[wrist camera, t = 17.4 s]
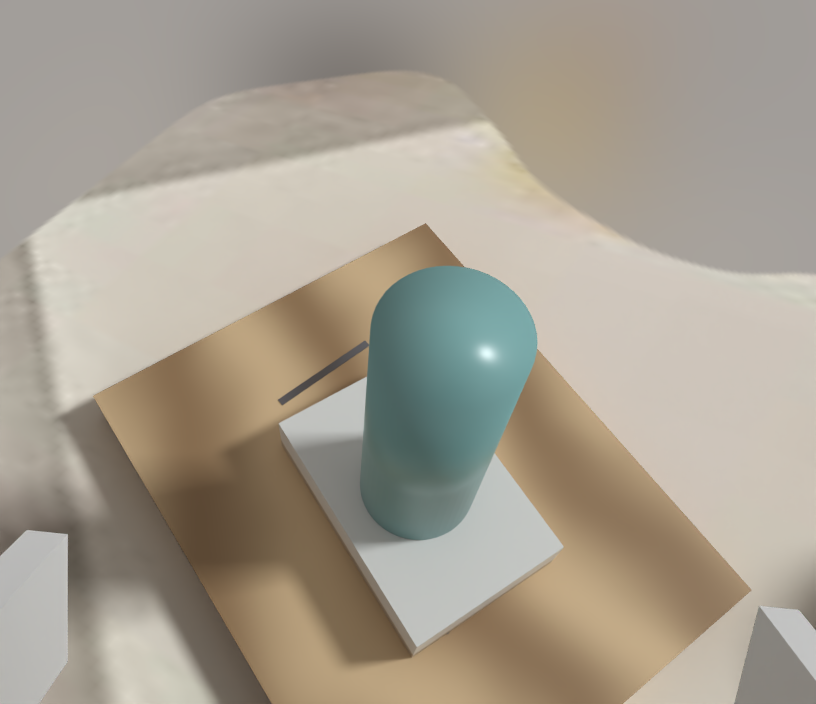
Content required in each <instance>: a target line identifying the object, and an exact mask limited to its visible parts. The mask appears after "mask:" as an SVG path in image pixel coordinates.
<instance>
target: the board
mask: <svg viewBox="0 0 816 704" xmlns="http://www.w3.org/2000/svg"><path fill="white" fill-rule="evenodd" d="M436 266H459V267H464V266H463V265H462V264H461V263H460V261H459V260H458V259H457V258H456V257H455V256H454V255H453V254H452V252H451V251H450V250H449V249H448V248H447V247H446V246H445V244H444V243H443V242H442V241H441V240H440V239H439V238H438V237H437V235H436V234H435V233H434V232H433V231H432V230H431V229H430V228H429V226H428V225H427V224H426V223H425V224H424V225H422V226H420V227H418V228H416V229H414V230H412V231H410V232H408V233H406V234H404V235H402V236H400V237H399V238H397V239H395V240H393V241H391V242H389V243H387V244H385V245H383V246H381V247H379V248H377V249H375V250H373V251H372V252H370V253H368V254H366V255H364V256H362V257H360V258H358V259H356V260H354V261H352V262H350V263H348V264H346V265H345V266H343V267H341V268H339V269H337V270H335V271H333V272H331V273H329V274H327V275H325V276H323V277H321V278H319V279H318V280H316V281H314V282H312V283H310V284H308V285H306V286H304V287H302V288H300V289H298V290H296V291H294V292H292V293H291V294H289V295H287V296H285V297H283V298H281V299H279V300H277V301H275V302H273V303H271V304H269V305H267V306H265V307H264V308H262V309H260V310H258V311H256V312H254V313H252V314H250V315H248V316H246V317H244V318H242V319H240V320H238V321H237V322H235V323H233V324H231V325H229V326H227V327H225V328H223V329H221V330H219V331H217V332H215V333H213V334H211V335H210V336H208V337H206V338H204V339H202V340H200V341H198V342H196V343H194V344H192V345H190V346H188V347H186V348H184V349H183V350H181V351H179V352H177V353H175V354H173V355H171V356H169V357H167V358H165V359H163V360H161V361H159V362H157V363H156V364H154V365H152V366H150V367H148V368H146V369H144V370H142V371H140V372H138V373H136V374H134V375H132V376H130V377H129V378H127V379H125V380H123V381H121V382H119V383H117V384H115V385H113V386H111V387H109V388H107V389H105V390H103V391H102V392H100V393H98V394H96V395H94V396H93V397H94V399H95V400H96V402H97V404H98V406H99V407H100V409H101V411H102V412H103V414H104V416H105V418H106V419H107V421H108V423H109V425H110V426H111V428H112V430H113V431H114V433H115V435H116V437H117V438H118V440H119V442H120V443H121V445H122V447H123V449H124V450H125V452H126V454H127V456H128V457H129V459H130V461H131V462H132V464H133V466H134V468H135V469H136V471H137V473H138V474H139V476H140V478H141V480H142V481H143V483H144V485H145V487H146V488H147V490H148V492H149V493H150V495H151V497H152V499H153V500H154V502H155V504H156V505H157V507H158V509H159V511H160V512H161V514H162V516H163V518H164V519H165V521H166V523H167V524H168V526H169V528H170V530H171V531H172V533H173V535H174V536H175V538H176V540H177V542H178V543H179V545H180V547H181V549H182V550H183V552H184V554H185V555H186V557H187V559H188V561H189V562H190V564H191V566H192V567H193V569H194V571H195V573H196V574H197V576H198V578H199V580H200V581H201V583H202V585H203V586H204V588H205V590H206V592H207V593H208V595H209V597H210V598H211V600H212V602H213V604H214V605H215V607H216V609H217V611H218V612H219V614H220V616H221V617H222V619H223V621H224V623H225V624H226V626H227V628H228V629H229V631H230V633H231V635H232V636H233V638H234V640H235V642H236V643H237V645H238V647H239V648H240V650H241V652H242V654H243V655H244V657H245V659H246V660H247V662H248V664H249V666H250V667H251V669H252V671H253V673H254V674H255V676H256V678H257V679H258V681H259V683H260V685H261V686H262V688H263V690H264V691H265V693H266V695H267V697H268V698H269V700H270V702H271V704H623V703H624V702H625V701H626V700H627V699H629V698H630V697H631V696H632V695H633V694H634V693H635V692H637V691H638V690H639V689H640V688H641V687H642V686H643V685H645V684H646V683H647V682H648V681H649V680H650V679H651V678H652V677H654V676H655V675H656V674H657V673H658V672H659V671H660V670H662V669H663V668H664V667H665V666H666V665H667V664H668V663H669V662H671V661H672V660H673V659H674V658H675V657H676V656H677V655H679V654H680V653H681V652H682V651H683V650H684V649H685V648H687V647H688V646H689V645H690V644H691V643H692V642H693V641H694V640H696V639H697V638H698V637H699V636H700V635H701V634H702V633H704V632H705V631H706V630H707V629H708V628H709V627H710V626H711V625H713V624H714V623H715V622H716V621H717V620H718V619H719V618H721V617H722V616H723V615H724V614H725V613H726V612H727V611H729V610H730V609H731V608H732V607H733V606H734V605H735V604H736V603H738V602H739V601H740V600H741V599H742V598H743V597H744V596H746V595H747V594H748V593H749V592H750V591H751V589H750V588H749V587H748V585H747V584H746V583H745V582H744V581H743V580H742V579H741V578H740V576H739V575H738V574H737V573H736V572H735V571H734V570H733V569H732V567H731V566H730V565H729V564H728V563H727V562H726V561H725V560H724V558H723V557H722V556H721V555H720V554H719V553H718V552H717V551H716V549H715V548H714V547H713V546H712V545H711V544H710V543H709V542H708V540H707V539H706V538H705V537H704V536H703V535H702V534H701V533H700V531H699V530H698V529H697V528H696V527H695V526H694V525H693V524H692V522H691V521H690V520H689V519H688V518H687V517H686V516H685V515H684V513H683V512H682V511H681V510H680V509H679V508H678V507H677V506H676V504H675V503H674V502H673V501H672V500H671V499H670V498H669V497H668V495H667V494H666V493H665V492H664V491H663V490H662V489H661V488H660V486H659V485H658V484H657V483H656V482H655V481H654V480H653V479H652V477H651V476H650V475H649V474H648V473H647V472H646V471H645V470H644V468H643V467H642V466H641V465H640V464H639V463H638V462H637V461H636V459H635V458H634V457H633V456H632V455H631V454H630V453H629V452H628V450H627V449H626V448H625V447H624V446H623V445H622V444H621V443H620V441H619V440H618V439H617V438H616V437H615V436H614V435H613V434H612V432H611V431H610V430H609V429H608V428H607V427H606V426H605V425H604V423H603V422H602V421H601V420H600V419H599V418H598V417H597V416H596V414H595V413H594V412H593V411H592V410H591V409H590V408H589V407H588V405H587V404H586V403H585V402H584V401H583V400H582V399H581V398H580V396H579V395H578V394H577V393H576V392H575V391H574V390H573V389H572V387H571V386H570V385H569V384H568V383H567V382H566V381H565V380H564V378H563V377H562V376H561V375H560V374H559V373H558V372H557V371H556V369H555V368H554V367H553V366H552V365H551V364H550V363H549V362H548V360H547V359H546V358H545V357H544V356H543V355H542V354H541V353H540V351H539V350H538V349H537V353H536V358H535V362H534V364H533V367H532V369H531V372H530V374H529V376H528V378H527V381H526V383H525V385H524V387H523V390H522V392H521V394H520V396H519V399H518V401H517V403H516V405H515V408H514V410H513V412H512V414H511V417H510V419H509V421H508V424H507V426H506V428H505V430H504V433H503V435H502V437H501V439H500V442H499V444H498V446H497V448H496V451H495V454H496V456H497V457H498V458H499V460H500V461H501V463H502V464H503V465H504V467H505V468H506V469H507V471H508V472H509V473H510V475H511V476H512V477H513V479H514V480H515V481H516V483H517V484H518V485H519V487H520V488H521V490H522V491H523V492H524V494H525V495H526V496H527V498H528V499H529V500H530V502H531V503H532V504H533V506H534V507H535V508H536V510H537V511H538V512H539V514H540V515H541V517H542V518H543V519H544V521H545V522H546V523H547V525H548V526H549V527H550V529H551V530H552V531H553V533H554V534H555V535H556V537H557V538H558V539H559V541H560V542H561V544H562V545H563V546H564V548H563V549H562V550H561V551H560V552H559V554H558V555H557V556H556V557H555V558H554V559H553V560H552V562H551V563H549V564H548V565H547V566H545V567H544V568H542V569H541V570H539V571H538V572H536V573H535V574H533V575H532V576H530V577H529V578H528V579H526V580H525V581H523V582H522V583H520V584H519V585H517V586H516V587H514V588H513V589H511V590H510V591H509V592H507V593H506V594H504V595H503V596H501V597H500V598H498V599H497V600H495V601H494V602H492V603H491V604H490V605H488V606H487V607H485V608H484V609H482V610H481V611H479V612H478V613H476V614H475V615H473V616H472V617H471V618H469V619H468V620H466V621H465V622H463V623H462V624H460V625H459V626H457V627H456V628H455V629H453V630H452V631H450V632H449V633H447V634H446V635H444V636H443V637H441V638H440V639H438V640H437V641H436V642H434V643H433V644H431V645H430V646H428V647H427V648H425V649H424V650H422V651H421V652H419V653H418V654H417V655H415V656H414V657H411V656H410V654H409V652H408V651H407V649H406V647H405V646H404V644H403V643H402V641H401V639H400V638H399V636H398V634H397V633H396V631H395V629H394V628H393V626H392V625H391V623H390V621H389V620H388V618H387V616H386V615H385V613H384V611H383V610H382V608H381V607H380V605H379V603H378V602H377V600H376V598H375V597H374V595H373V593H372V592H371V590H370V589H369V587H368V585H367V584H366V582H365V580H364V579H363V577H362V575H361V574H360V572H359V571H358V569H357V567H356V566H355V564H354V562H353V561H352V559H351V558H350V556H349V554H348V553H347V551H346V549H345V548H344V546H343V544H342V543H341V541H340V540H339V538H338V536H337V535H336V533H335V531H334V530H333V528H332V526H331V525H330V523H329V522H328V520H327V518H326V517H325V515H324V513H323V512H322V510H321V508H320V507H319V505H318V504H317V502H316V500H315V499H314V497H313V495H312V494H311V492H310V491H309V489H308V487H307V486H306V484H305V482H304V481H303V479H302V477H301V476H300V474H299V473H298V471H297V469H296V468H295V466H294V464H293V463H292V461H291V459H290V458H289V456H288V455H287V453H286V451H285V450H284V448H283V446H282V442H281V436H280V429H279V423H280V422H282V421H284V420H286V419H288V418H290V417H291V416H293V415H295V414H297V413H299V412H301V411H303V410H305V409H307V408H308V407H310V406H312V405H314V404H316V403H318V402H320V401H322V400H324V399H325V398H327V397H329V396H331V395H333V394H335V393H337V392H339V391H341V390H342V389H344V388H346V387H348V386H350V385H352V384H354V383H356V382H357V381H359V380H361V379H363V378H365V377H367V370H368V355H369V340H370V325H371V320H372V315H373V313H374V310H375V307H376V305H377V304H378V302H379V300H380V298H381V297H382V296H383V294H384V293H385V292H386V291H387V290H388V289H389V288H390V287H391V286H392V285H393V284H394V283H396V282H397V281H398V280H400V279H401V278H403V277H405V276H407V275H408V274H411V273H413V272H415V271H418V270H422V269H425V268H430V267H436Z"/></svg>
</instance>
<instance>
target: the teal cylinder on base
mask: <svg viewBox="0 0 816 704" xmlns="http://www.w3.org/2000/svg"><path fill="white" fill-rule="evenodd" d="M536 353H537V333H536V329H535V324H534V322H533V319H532V317H531V314H530V313H529V311H528V309H527V307H526V306H525V304H524V303H523V302H522V300H521V299H520V298H519V297H518V296H517V295H516V294H515V293H514V291H512V290H511V289H510V288H509V287H508V286H506V285H505V284H504V283H502V282H501V281H499V280H498V279H496V278H494V277H492V276H490V275H488V274H485V273H483V272H480V271H477V270H474V269H470V268H465V267H459V266H436V267H430V268H425V269H422V270H418V271H415V272H413V273H411V274H408V275H407V276H405V277H403V278H401V279H400V280H398V281H397V282H396V283H394V284H393V285H392V286H391V287H390V288H389V289H388V290H387V291H386V292H385V293H384V294H383V296H382V297H381V298H380V300H379V302H378V304H377V305H376V307H375V310H374V313H373V315H372V320H371V325H370V340H369V355H368V370H367V377H365V378H363V379H361V380H359V381H357V382H356V383H354V384H352V385H350V386H348V387H346V388H344V389H342V390H341V391H339V392H337V393H335V394H333V395H331V396H329V397H327V398H325V399H324V400H322V401H320V402H318V403H316V404H314V405H312V406H310V407H308V408H307V409H305V410H303V411H301V412H299V413H297V414H295V415H293V416H291V417H290V418H288V419H286V420H284V421H282V422H280V423H279V429H280V436H281V442H282V446H283V448H284V450H285V451H286V453H287V455H288V456H289V458H290V459H291V461H292V463H293V464H294V466H295V468H296V469H297V471H298V473H299V474H300V476H301V477H302V479H303V481H304V482H305V484H306V486H307V487H308V489H309V491H310V492H311V494H312V495H313V497H314V499H315V500H316V502H317V504H318V505H319V507H320V508H321V510H322V512H323V513H324V515H325V517H326V518H327V520H328V522H329V523H330V525H331V526H332V528H333V530H334V531H335V533H336V535H337V536H338V538H339V540H340V541H341V543H342V544H343V546H344V548H345V549H346V551H347V553H348V554H349V556H350V558H351V559H352V561H353V562H354V564H355V566H356V567H357V569H358V571H359V572H360V574H361V575H362V577H363V579H364V580H365V582H366V584H367V585H368V587H369V589H370V590H371V592H372V593H373V595H374V597H375V598H376V600H377V602H378V603H379V605H380V607H381V608H382V610H383V611H384V613H385V615H386V616H387V618H388V620H389V621H390V623H391V625H392V626H393V628H394V629H395V631H396V633H397V634H398V636H399V638H400V639H401V641H402V643H403V644H404V646H405V647H406V649H407V651H408V652H409V654H410V656H411V657H414V656H415V655H417V654H418V653H419V652H421V651H422V650H424V649H425V648H427V647H428V646H430V645H431V644H433V643H434V642H436V641H437V640H438V639H440V638H441V637H443V636H444V635H446V634H447V633H449V632H450V631H452V630H453V629H455V628H456V627H457V626H459V625H460V624H462V623H463V622H465V621H466V620H468V619H469V618H471V617H472V616H473V615H475V614H476V613H478V612H479V611H481V610H482V609H484V608H485V607H487V606H488V605H490V604H491V603H492V602H494V601H495V600H497V599H498V598H500V597H501V596H503V595H504V594H506V593H507V592H509V591H510V590H511V589H513V588H514V587H516V586H517V585H519V584H520V583H522V582H523V581H525V580H526V579H528V578H529V577H530V576H532V575H533V574H535V573H536V572H538V571H539V570H541V569H542V568H544V567H545V566H547V565H548V564H549V563H551V562H552V560H553V559H554V558H555V557H556V556H557V555H558V554H559V552H560V551H561V550H562V549H563V548H564V546H563V545H562V544H561V542H560V541H559V539H558V538H557V537H556V535H555V534H554V533H553V531H552V530H551V529H550V527H549V526H548V525H547V523H546V522H545V521H544V519H543V518H542V517H541V515H540V514H539V512H538V511H537V510H536V508H535V507H534V506H533V504H532V503H531V502H530V500H529V499H528V498H527V496H526V495H525V494H524V492H523V491H522V490H521V488H520V487H519V485H518V484H517V483H516V481H515V480H514V479H513V477H512V476H511V475H510V473H509V472H508V471H507V469H506V468H505V467H504V465H503V464H502V463H501V461H500V460H499V458H498V457H497V456H496V454H495V451H496V448H497V446H498V444H499V442H500V439H501V437H502V435H503V433H504V430H505V428H506V426H507V424H508V421H509V419H510V417H511V414H512V412H513V410H514V408H515V405H516V403H517V401H518V399H519V396H520V394H521V392H522V390H523V387H524V385H525V383H526V381H527V378H528V376H529V374H530V372H531V369H532V367H533V364H534V362H535V358H536Z"/></svg>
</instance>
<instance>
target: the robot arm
mask: <svg viewBox="0 0 816 704" xmlns="http://www.w3.org/2000/svg"><path fill="white" fill-rule="evenodd" d="M67 662H68V534H61V533H51V532H41V531H32V530H26V531H25V532H24V533H23V534H22V535H21V536H20V537H19V538H18V539H17V540H16V541H15V542H14V543H13V544H12V545H11V546H10V547H9V548H8V549H7V550H6V551H5V552H4V553H3V554H2V555H1V556H0V704H39V703H40V702H41V700H42V699H43V697H44V696H45V694H46V693H47V691H48V690H49V688H50V687H51V685H52V684H53V682H54V681H55V679H56V678H57V676H58V675H59V674H60V672H61V671H62V669H63V668H64V666H65V665H66V663H67ZM734 704H816V630H815V629H814V628H813V626H812V625H811V624H810V623H809V622H808V620H807V619H806V618H805V617H804V616H803V614H802V613H801V612H800V611H799V610H796V609H786V608H776V607H767V606H759V608H758V612H757V616H756V620H755V624H754V628H753V632H752V636H751V640H750V644H749V648H748V652H747V656H746V660H745V664H744V668H743V671H742V675H741V679H740V683H739V687H738V691H737V695H736V699H735V703H734Z"/></svg>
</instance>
